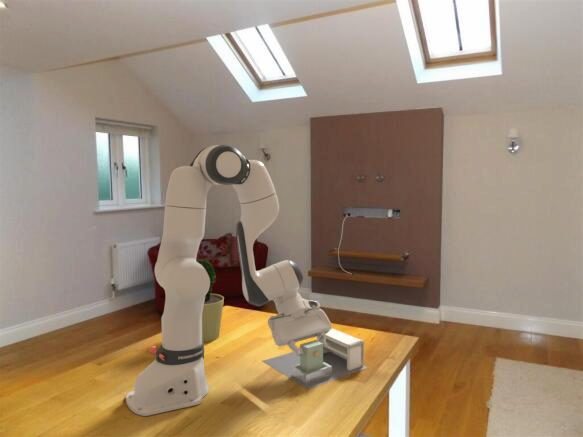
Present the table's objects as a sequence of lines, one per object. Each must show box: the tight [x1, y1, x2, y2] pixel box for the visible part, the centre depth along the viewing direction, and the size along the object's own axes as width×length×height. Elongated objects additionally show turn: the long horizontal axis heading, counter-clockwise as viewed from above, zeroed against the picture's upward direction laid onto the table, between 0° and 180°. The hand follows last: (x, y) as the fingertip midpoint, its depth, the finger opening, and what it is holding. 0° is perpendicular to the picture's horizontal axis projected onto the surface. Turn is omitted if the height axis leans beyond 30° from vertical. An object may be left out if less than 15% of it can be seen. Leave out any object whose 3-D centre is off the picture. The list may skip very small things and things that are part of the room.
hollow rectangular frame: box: [291, 362, 332, 385], centre depth 138 cm, size 10×7×3 cm
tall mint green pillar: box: [299, 339, 323, 373], centre depth 137 cm, size 6×4×10 cm
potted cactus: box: [196, 259, 225, 343], centre depth 172 cm, size 15×15×30 cm
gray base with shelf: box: [262, 328, 369, 390], centre depth 146 cm, size 24×24×9 cm
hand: (313, 351), depth 137 cm, fingers open, 8 cm apart
